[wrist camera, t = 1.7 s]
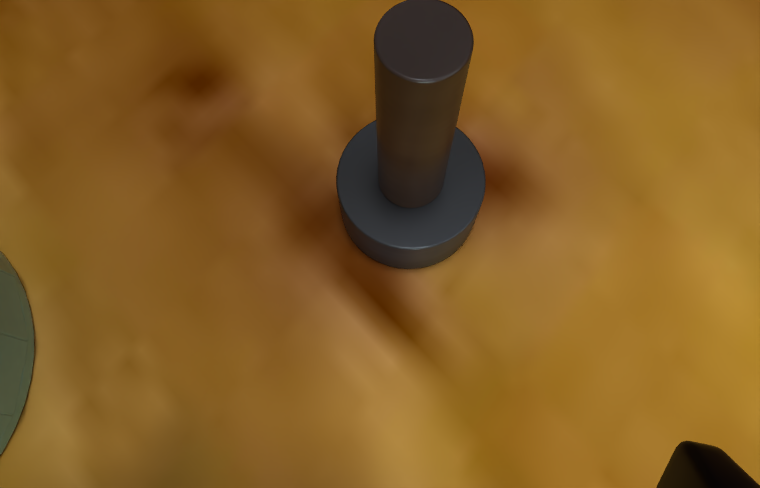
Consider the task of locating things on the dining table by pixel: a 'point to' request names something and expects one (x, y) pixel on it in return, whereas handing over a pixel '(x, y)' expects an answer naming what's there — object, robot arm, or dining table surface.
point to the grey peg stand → (414, 143)
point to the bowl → (13, 350)
